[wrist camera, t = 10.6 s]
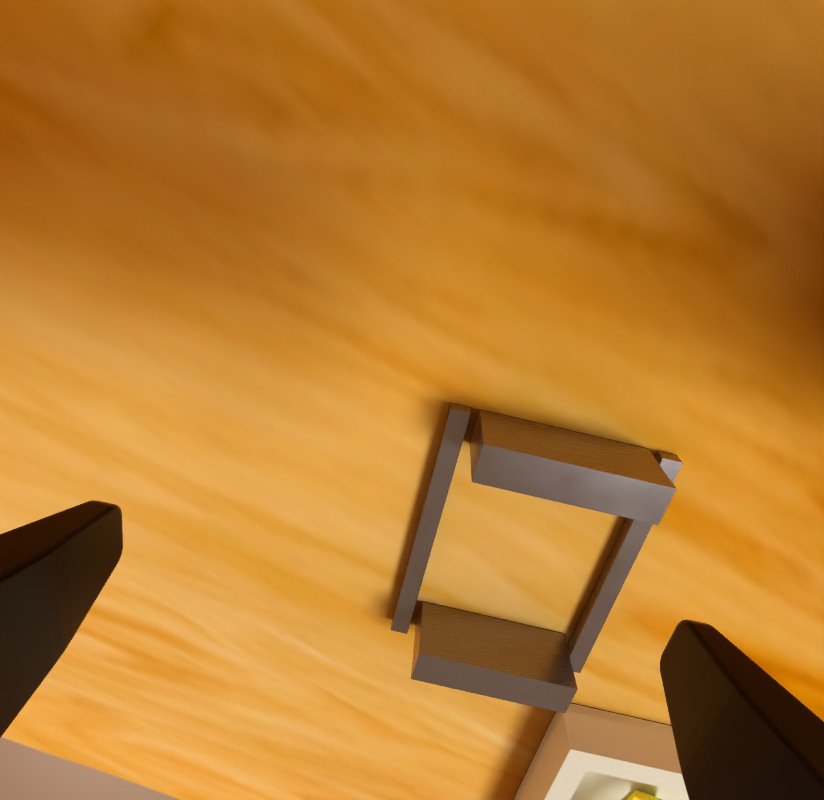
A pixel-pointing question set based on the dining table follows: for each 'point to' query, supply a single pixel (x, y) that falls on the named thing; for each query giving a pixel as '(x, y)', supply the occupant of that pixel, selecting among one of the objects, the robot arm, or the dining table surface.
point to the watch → (641, 796)
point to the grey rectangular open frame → (549, 479)
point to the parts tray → (603, 759)
